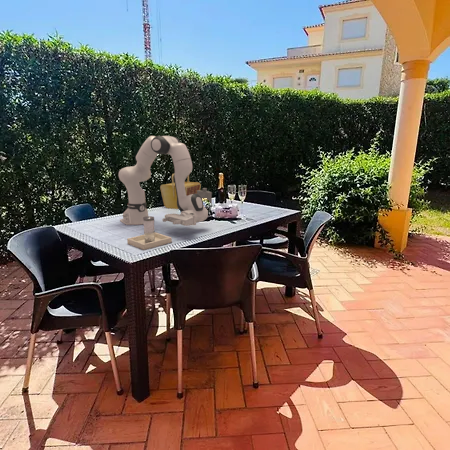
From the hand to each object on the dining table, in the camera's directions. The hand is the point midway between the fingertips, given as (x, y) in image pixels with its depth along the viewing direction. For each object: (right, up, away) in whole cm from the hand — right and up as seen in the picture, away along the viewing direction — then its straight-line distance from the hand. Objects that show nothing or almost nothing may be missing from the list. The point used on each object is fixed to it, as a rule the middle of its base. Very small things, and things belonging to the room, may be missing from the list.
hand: (168, 221), depth 178 cm
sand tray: (-9, -12, -7) cm, 16 cm away
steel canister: (-9, -11, -7) cm, 16 cm away
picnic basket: (-6, +14, +98) cm, 100 cm away
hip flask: (+17, +8, +72) cm, 74 cm away
